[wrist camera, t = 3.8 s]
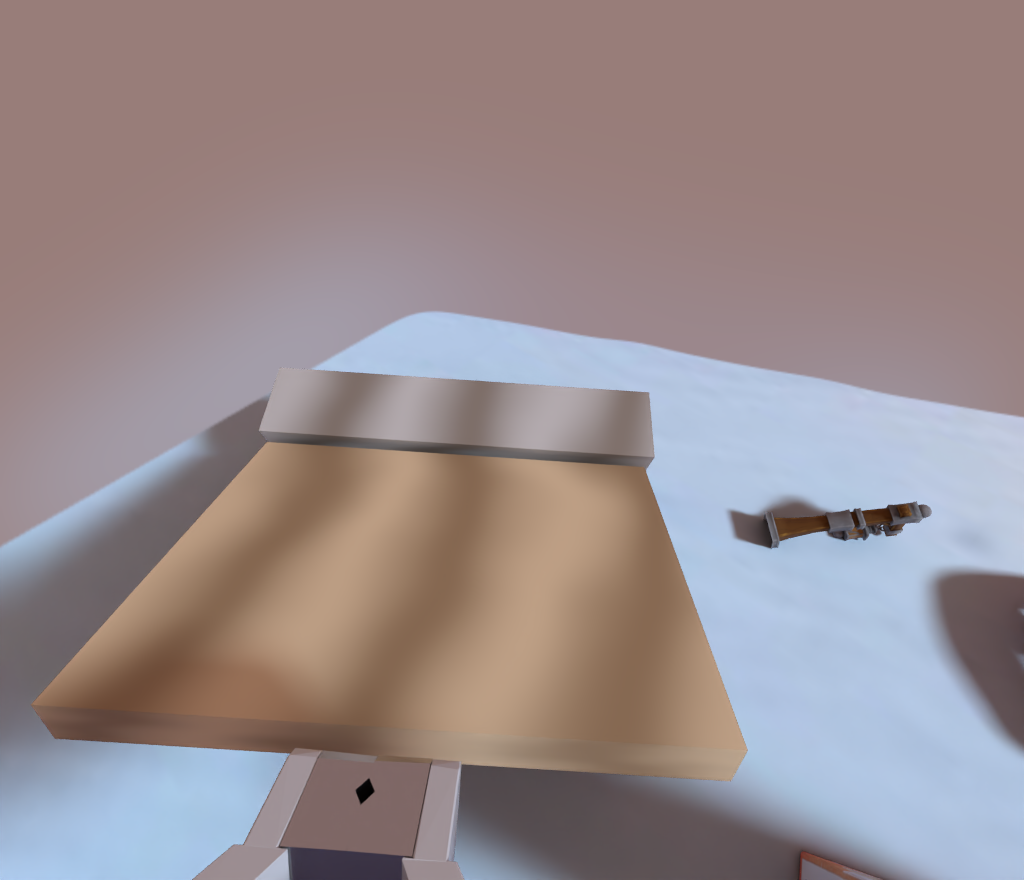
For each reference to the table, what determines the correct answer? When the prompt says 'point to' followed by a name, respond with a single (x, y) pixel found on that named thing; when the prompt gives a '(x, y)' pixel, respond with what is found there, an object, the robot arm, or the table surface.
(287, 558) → the oak plank
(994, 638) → the table surface
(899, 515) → the wooden post with brackets
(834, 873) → the cracker box
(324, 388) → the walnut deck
